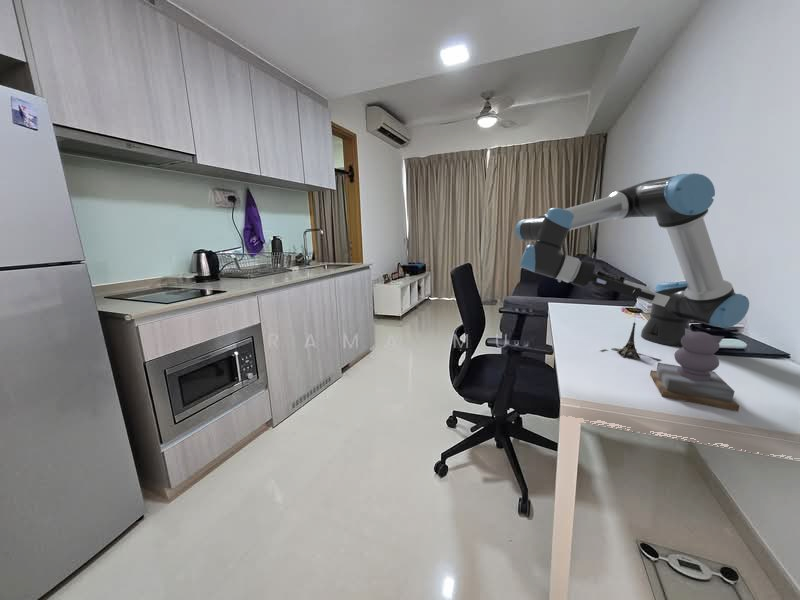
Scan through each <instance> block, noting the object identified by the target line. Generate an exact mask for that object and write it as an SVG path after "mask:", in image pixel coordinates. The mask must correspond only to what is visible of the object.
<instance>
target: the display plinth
mask: <svg viewBox="0 0 800 600" xmlns="http://www.w3.org/2000/svg"><path fill="white" fill-rule="evenodd" d="M679 366H680V365H675V364H668V363H662V362H657V366H656V369H655V370H654V369H653V370H652V369H651V370H650V372H649V373H650V374H649V376H650V377H651V380H652V381H653V383H654V384H655V386H656V389H657V390H658V392H659V394H660V395H661V397H663V398H667V399H672V400H678V401H683V402H689V403H692V404H698V405H703V406H708V407H712V408H719V409H721V410H727V411H731V412H733V411H734V412H736V413H737V412H739V410H740V405H739V404H738V403H737V402H736V400H735V399H734V396H735V390H734V389H733V388H732V387H731V386H730V385H729V384H727V382H725V380H724V379H722V378H721V376H720V375H719V374H717V372H716V371H714V370H713V371H710V372H709V373H710V374H711V377H710V380H709V381H696V380H692V379H688V378H685V377H683V376H681V375H679V374H678V373H677V368H678V367H679Z"/></svg>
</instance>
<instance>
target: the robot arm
mask: <svg viewBox="0 0 800 600" xmlns="http://www.w3.org/2000/svg"><path fill="white" fill-rule="evenodd" d="M715 191H716V190H715V186H714V184H713V182H712V180H711V179H710V178H709V177H707V176H706V175H705V174H701V173H695V172H694V173H692V172H691V173H681V174H680V173H679V174H677V175H673V176H667V177H663V178H658V179H652V180H651V179H650V180H646V181H642V182H639V183H637V184H634V185H632V186H628V187H626V188H623V189H621V190H616V191H614V192H612V193H610V194H609V195H608V196H606V197H604V198H599V199H596V200H593V201H589V202H586V203H582V204H578V205H574V206H570V207H567V208H560V207H551V208H549V209H548V210H547V212H546V214H543V215H539V216H535V217H532V218H531V217H530V218H529V217H528V218H524V219H522V220H519V221H518V222H517V224H516V226H515V228H514V229H515V230H514V231H515V235H516V237H517V238H518V239H519V240H521V241H524V242H534V244H527V245H526V247H525V249H524V251H523V254H522V257H521V259H520V261H519V262H520V263H519V266H520V267H521V268H522V269H525V270H527V271H530V272H532V273H535V274H539V275H542V276H544V277H548V278H552V279H555V280H557V282H558V283H561V282H562V281H563V282H565V283H567V284H568V283H570V284H571V285H573V286H578V287H580V288H585V287H587V285H588V284H589V282H591V283H592V284H593V285H594V286H596V287H600V288H603V289H606V290H611V291H613V292H617V293H619V294H622V295H625V296H628V297H630V298H632V301H635V302H636V301H637V299H638V300H642V301H644V302H648V303H651V308H650V315H649V318H648V320H647V321H646V323H645V325H644V326H643V328H642V329H641V332H640V337H641V338H642V339H645V340H647V341H649V342H653V343H657V344H661V345H666V346H674V347H683V346H682V344H681V339H682V337H683V336H684V335H685V328H687V329H689V330H691V327H690V326H691V325H690V321H694V322H697V323H701V324H705V325H708V326H712V327H718V328H723V329H727V328H728V329H729V328H732V327H734V326H736V325H738V324H739V323H740V322H741V321H743V319H744V318H745V316H746V315H747V314H748V311H749V308H750V301H749V298H748V297H747V296H746V295H743V294H742V293H736V292H735V290H734V287H733V285H732V283H731V282H730V281H728V280H726V279H725V280H724V277H723V275H722V271H721V269H720V266H719V263H718V260H717V255H716V253H715V250H714V247H713V244H712V241H711V238H710V235H709V231H708V228H707V226H706V223H705V219H704V217H706V215H707V214H708V212H709V208H711V206H712V204H713V202H714V197H715V195H716V192H715ZM645 217H646V218H649V217H650V218H652V217H653V218H654V217H655V219H656V221H657V224H658V227H660V228H662V229H666V230H667V233H668V237H669V239H670V241H671V245H672V246H673V247H672V248H673V249H674V253H675V255H676V258H677V261H678V263H679V266H680V269H681V271H682V274H683V276H684V277H683V278H684V280H685V281H662V282H661V281H660V282H658V283H657V284H656V286H655V289H654V291H651V290H650V286H647V285H643V284H639V283H636V282H633V281H630V280H626V279H625V278H626V277H624V276H620V277H618V276H617V277H616V276H613V275H610V274H607V273H605V272H603V271H600V270H598V272H597V271H595V270H596V264H595V263H594V262H591V261H587V260H584V259H582V260H580V259H579V258H578V257H575V256H570V255H568V254H564V253H563V254H562V253H561V250H562V247H563V245H564V243H565V241H566V239H567V236H568V234H569V232H570V231H572V230H577V229H580V228H584V227H587V226H590V225H594V224H597V223H598V224H599V223H602V222H605V221H608V220H615V221H619V220H624V219H627V218H628V219H630V218H645Z"/></svg>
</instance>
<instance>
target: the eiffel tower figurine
mask: <svg viewBox="0 0 800 600" xmlns="http://www.w3.org/2000/svg"><path fill="white" fill-rule="evenodd" d="M636 324H637V323H636V321H634V322H633V324H632V329H631V332H630V336H629V338H628V341H627V343H626V344H625V345H623V346H622V348H617V347H614V348H612V347H611V349H610V350H611V351H614V352H616V353H617V354H618V355H619V356H620V357H622V359H629V360H630V359H631V360H642V358H641V357H640V356H645V357H649V358H651V359H652V360H654V361H659V362H661V361H663V360H662V359H660V358H656V357H654V356H653V357H652V356H649V355H645V354H643V353H638V351H637V350H638V349H637V348H636V345H635V329H636ZM600 352H602V353H605V352H609V350H608V349H606V348H604V349H601V350H600Z"/></svg>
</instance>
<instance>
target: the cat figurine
mask: <svg viewBox="0 0 800 600" xmlns="http://www.w3.org/2000/svg"><path fill="white" fill-rule="evenodd" d="M724 338H725V335H724V336H723V335H712V334H710V333H707V332H705V331H693V330H691V329H690V330H689V329H687V328H685V335H684V336H683V337H682V339H681V344H682V346H681V348H679V349H677V350H676V351H675V352H674V354H673V355H674V360H675V361H676V363H677V364H678V366H679V367H678V368H677V373H678V374H679V375H681V376H683V377H685V378H688V379H692V380H696V381H709V380H710V377H711V374H710V373H709V372H710V371H714V370H717V368H719V366H720V361H719V357H718V356H717V355H716V354H715V353H717V352H718V351H719V350H720V343H721V341H722V340H723V339H724Z"/></svg>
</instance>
